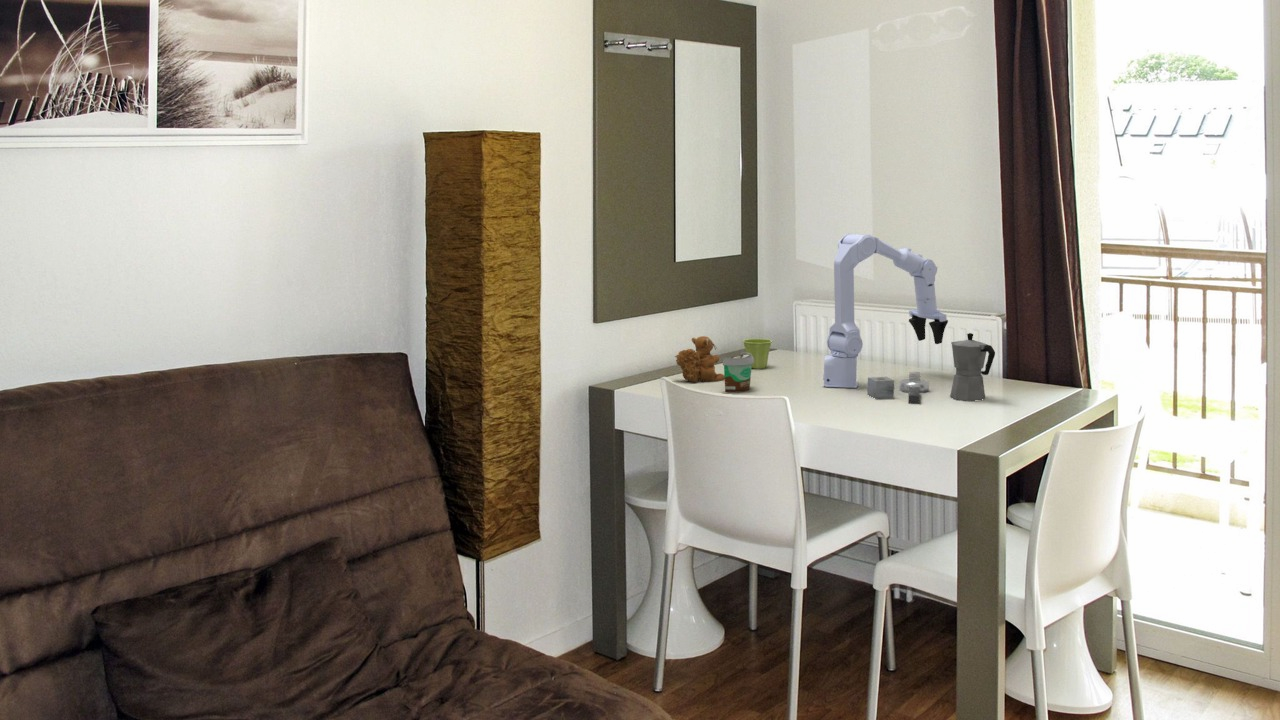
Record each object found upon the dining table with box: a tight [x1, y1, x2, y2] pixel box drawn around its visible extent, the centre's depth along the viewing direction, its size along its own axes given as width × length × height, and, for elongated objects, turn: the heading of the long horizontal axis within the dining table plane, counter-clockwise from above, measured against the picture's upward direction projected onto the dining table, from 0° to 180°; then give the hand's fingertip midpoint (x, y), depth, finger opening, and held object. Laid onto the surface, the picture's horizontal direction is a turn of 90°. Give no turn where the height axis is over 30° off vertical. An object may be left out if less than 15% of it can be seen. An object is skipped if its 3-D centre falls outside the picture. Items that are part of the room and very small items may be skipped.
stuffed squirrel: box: [674, 335, 725, 384], centre depth 325 cm, size 10×14×13 cm
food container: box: [722, 351, 754, 393], centre depth 310 cm, size 12×6×10 cm, turn 148°
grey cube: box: [867, 376, 895, 400], centre depth 299 cm, size 5×5×5 cm
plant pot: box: [742, 338, 773, 370], centre depth 346 cm, size 9×9×9 cm
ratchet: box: [899, 371, 930, 405], centre depth 301 cm, size 8×22×5 cm, turn 166°
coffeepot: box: [949, 332, 996, 402], centre depth 294 cm, size 15×9×18 cm, turn 29°
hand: (930, 341), depth 327 cm, fingers open, 7 cm apart
